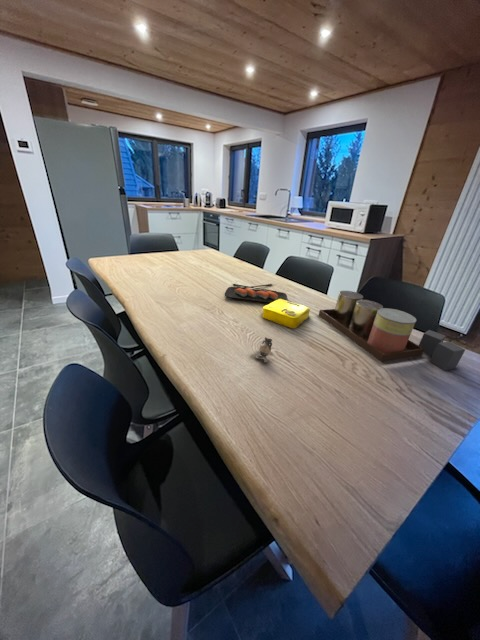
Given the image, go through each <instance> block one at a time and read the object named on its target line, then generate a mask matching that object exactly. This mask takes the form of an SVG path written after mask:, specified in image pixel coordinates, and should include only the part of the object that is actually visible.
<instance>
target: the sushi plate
mask: <svg viewBox="0 0 480 640" xmlns="http://www.w3.org/2000/svg"><path fill="white" fill-rule="evenodd" d="M232 285H233V286H229V287H227V288H226V289H225V292H224V297H226V298H230V299H235V300H240V301H248V302H255V303H256V302H257V303H263V304H264V303H266V304H270V303H272V302H274V301H276V300H278V299H283V300H286V301H288V295H287V294H286V293H285V292H281V291H277V290H271V289H266V288H260V287H268V286H270V287H271V286H272V285H273V284H272V283H269V284H260V285H252V286H248V285H243V284H238V283H237V284H236V283H233V284H232Z"/></svg>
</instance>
